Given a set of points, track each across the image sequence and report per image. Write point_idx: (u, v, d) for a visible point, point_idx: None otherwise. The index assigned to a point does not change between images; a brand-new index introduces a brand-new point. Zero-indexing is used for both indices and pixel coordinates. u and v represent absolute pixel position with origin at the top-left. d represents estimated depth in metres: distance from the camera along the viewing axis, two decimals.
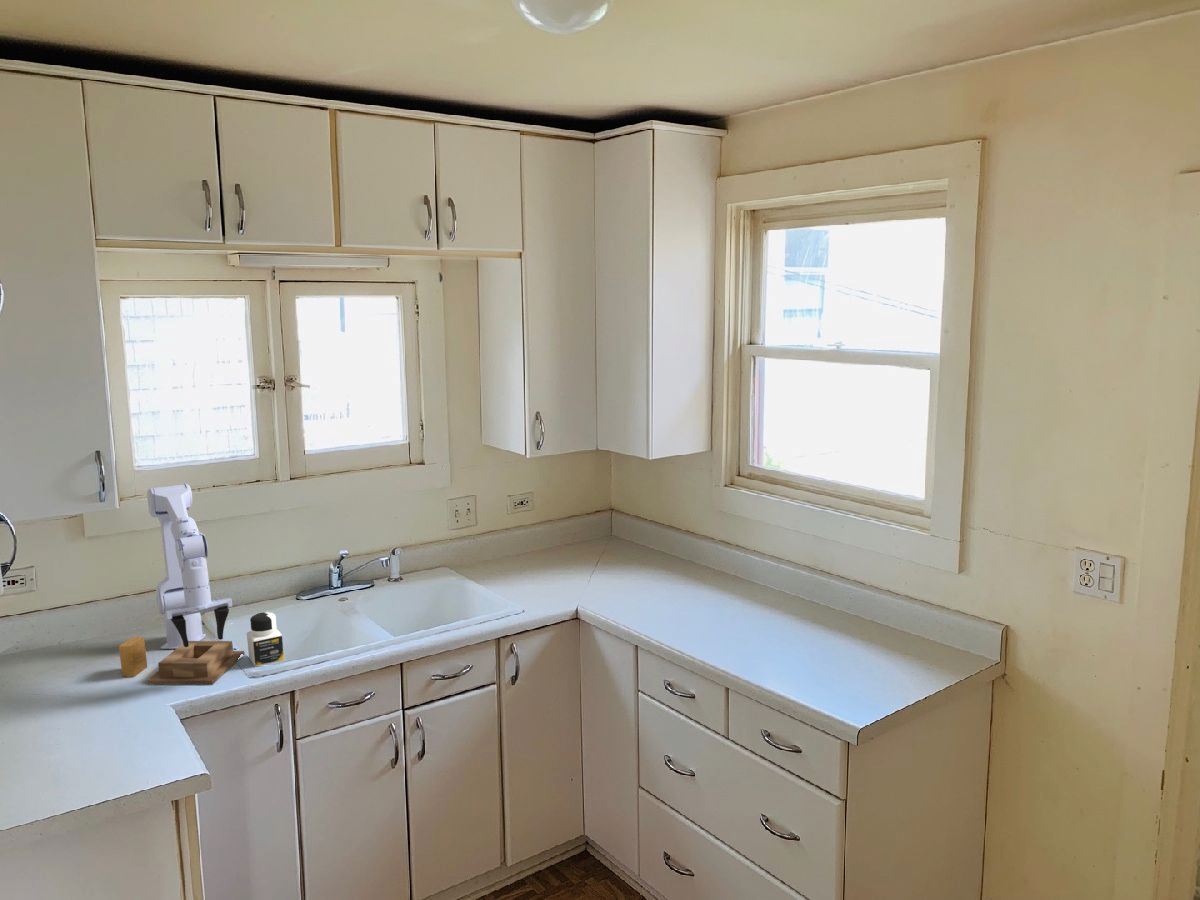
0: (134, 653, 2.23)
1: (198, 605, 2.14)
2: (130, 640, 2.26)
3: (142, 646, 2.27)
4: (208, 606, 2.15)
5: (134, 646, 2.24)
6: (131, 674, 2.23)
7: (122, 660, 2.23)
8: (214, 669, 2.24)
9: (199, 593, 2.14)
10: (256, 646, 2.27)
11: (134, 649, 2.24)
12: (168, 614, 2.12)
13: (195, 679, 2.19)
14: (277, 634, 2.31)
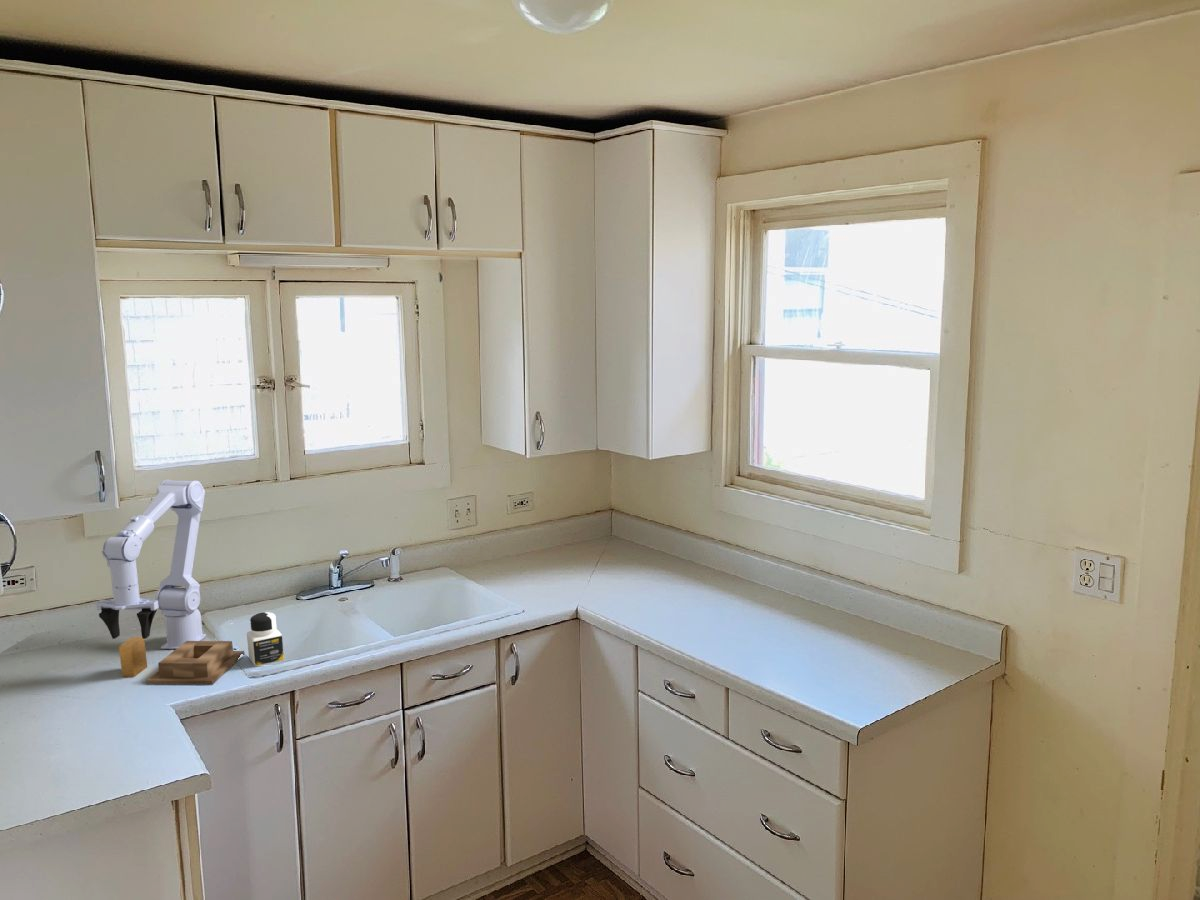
0: (134, 653, 2.23)
1: (118, 604, 2.20)
2: (130, 640, 2.26)
3: (142, 646, 2.27)
4: (127, 607, 2.21)
5: (134, 646, 2.24)
6: (131, 674, 2.23)
7: (122, 660, 2.23)
8: (214, 669, 2.24)
9: (118, 593, 2.20)
10: (256, 646, 2.27)
11: (134, 649, 2.24)
12: (97, 606, 2.23)
13: (195, 679, 2.19)
14: (277, 634, 2.31)
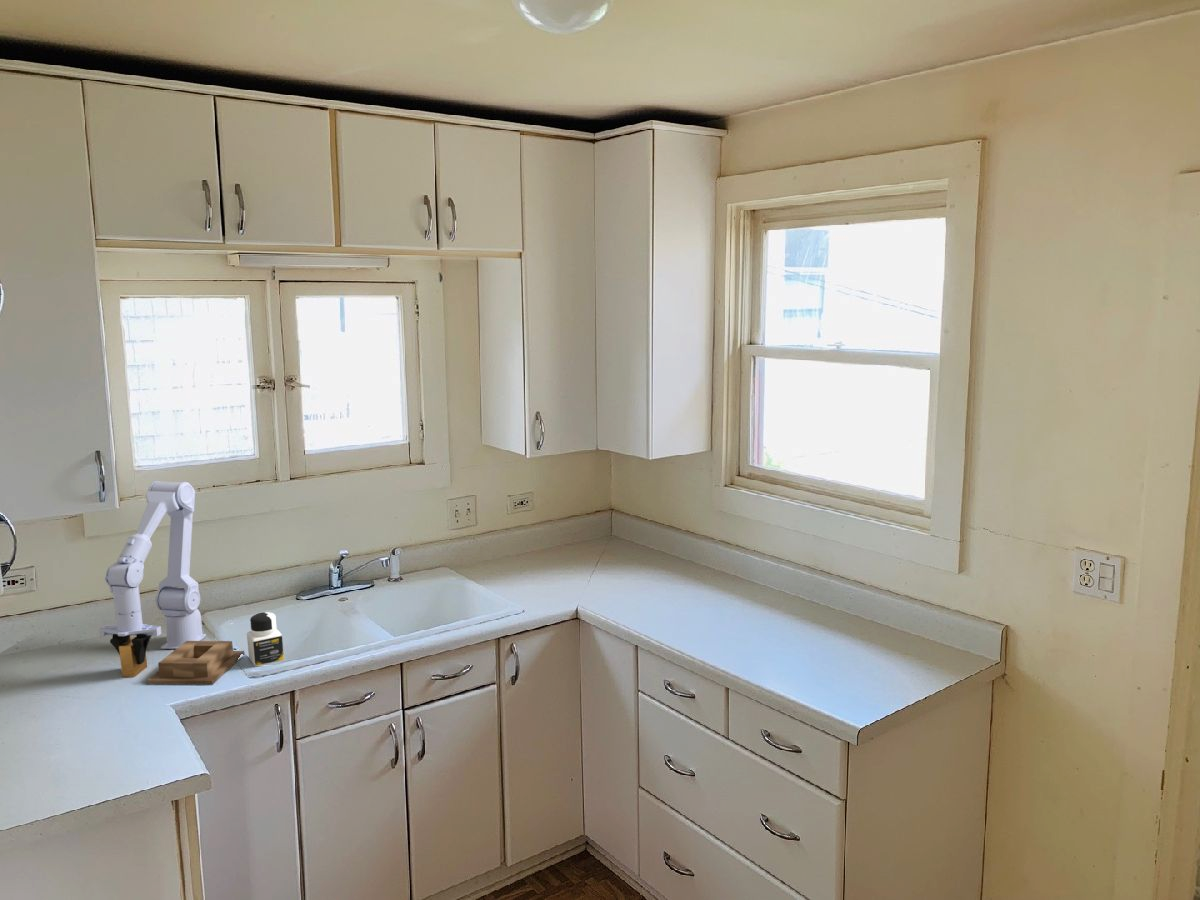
0: (134, 653, 2.23)
1: (121, 630, 2.22)
2: (130, 640, 2.26)
3: None
4: (130, 633, 2.22)
5: None
6: (131, 674, 2.23)
7: (122, 660, 2.23)
8: (214, 669, 2.24)
9: (121, 619, 2.21)
10: (256, 646, 2.27)
11: (134, 649, 2.24)
12: (100, 631, 2.24)
13: (195, 679, 2.19)
14: (277, 634, 2.31)
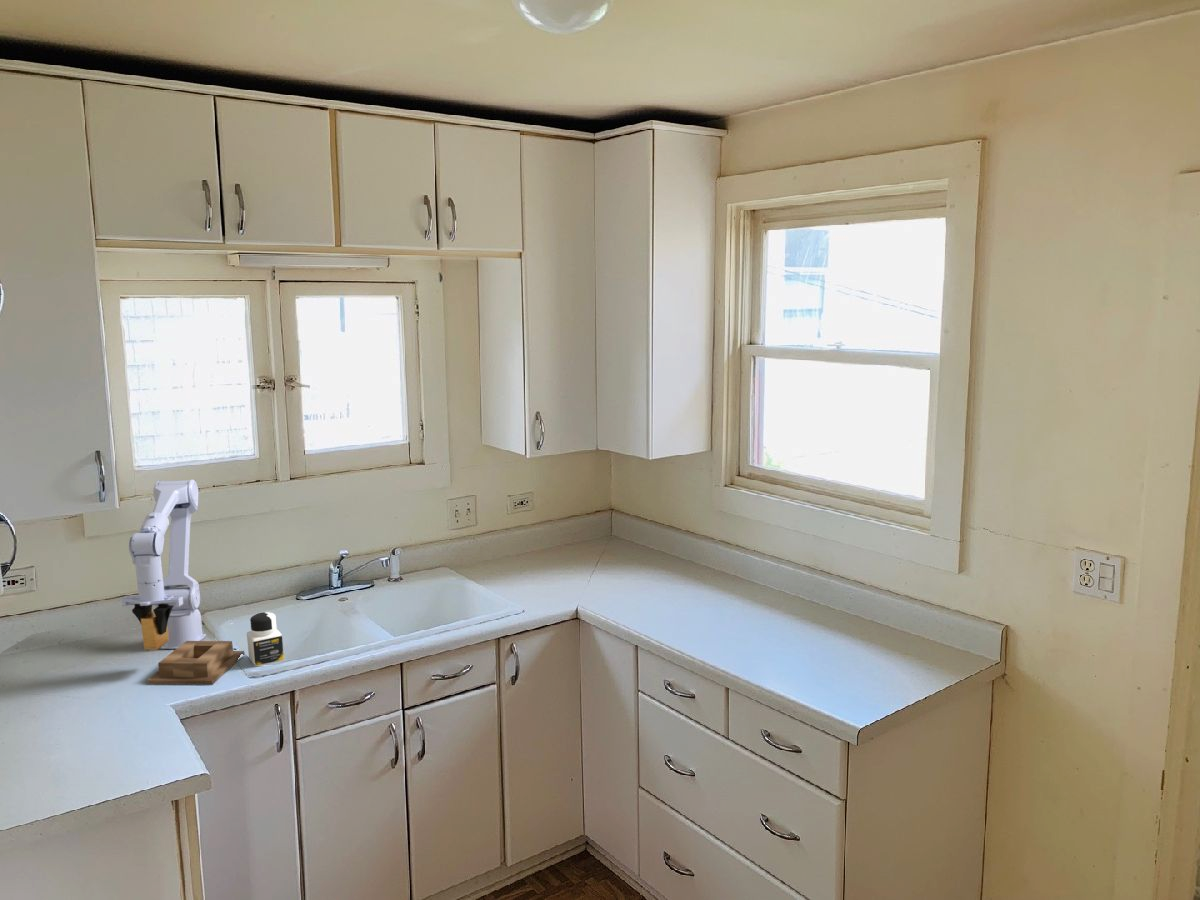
0: (156, 625, 2.23)
1: (143, 600, 2.21)
2: (152, 613, 2.25)
3: None
4: (152, 603, 2.21)
5: (156, 619, 2.23)
6: (153, 646, 2.23)
7: (144, 632, 2.22)
8: (214, 669, 2.24)
9: (143, 589, 2.20)
10: (256, 646, 2.27)
11: (156, 621, 2.23)
12: (122, 601, 2.23)
13: (195, 679, 2.19)
14: (277, 634, 2.31)
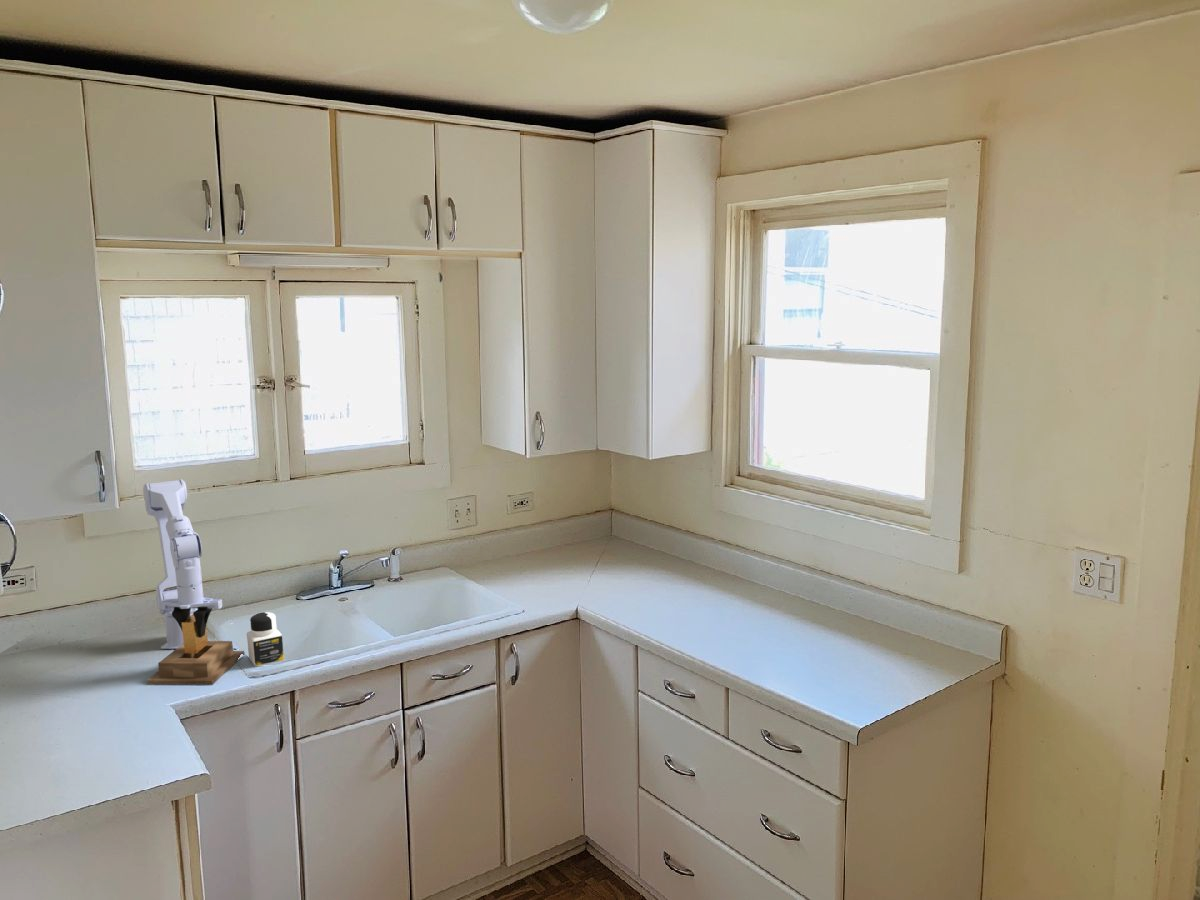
0: (196, 629, 2.24)
1: (183, 603, 2.22)
2: (192, 616, 2.26)
3: None
4: (192, 606, 2.22)
5: None
6: (193, 650, 2.24)
7: (185, 636, 2.23)
8: (214, 669, 2.24)
9: (183, 592, 2.21)
10: (256, 646, 2.27)
11: (196, 625, 2.24)
12: (162, 604, 2.24)
13: (195, 679, 2.19)
14: (277, 634, 2.31)
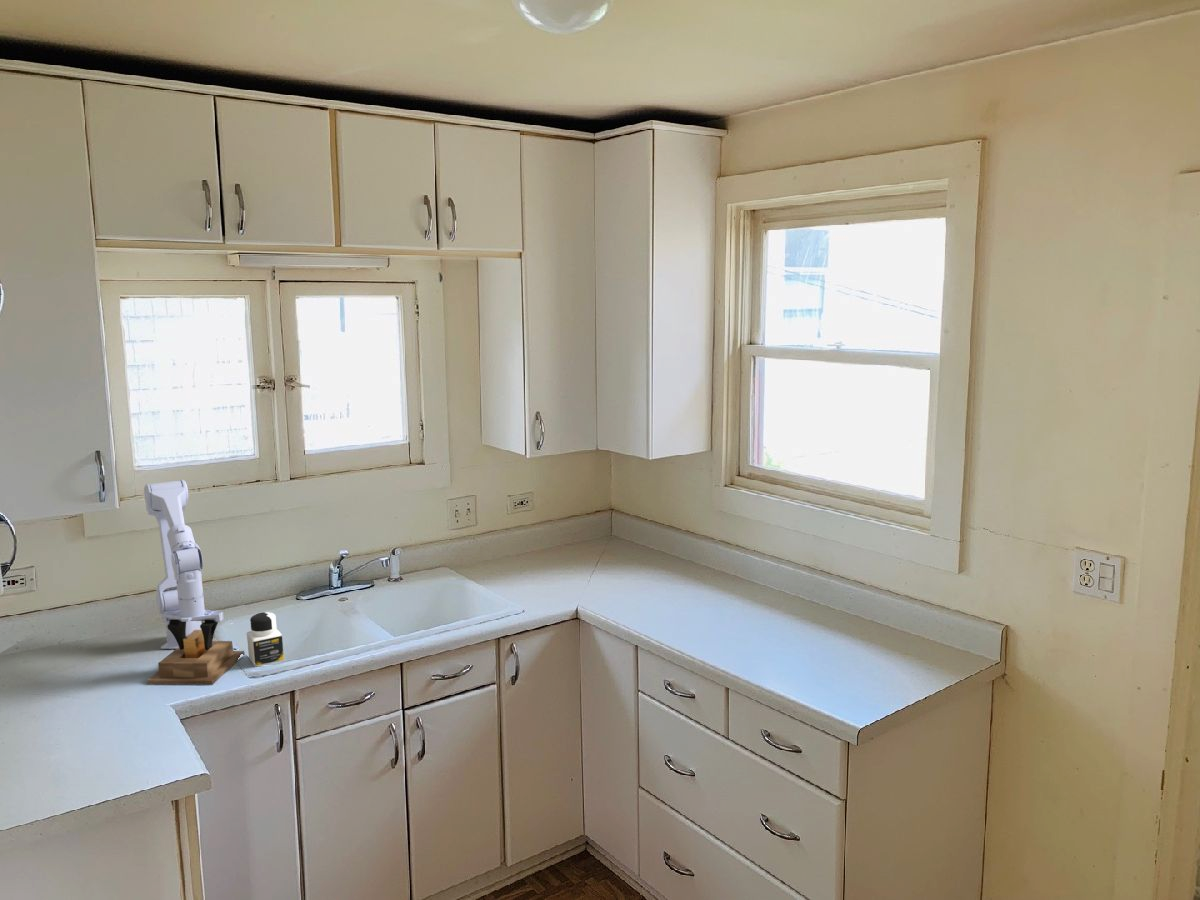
0: (198, 645, 2.25)
1: (184, 616, 2.22)
2: (193, 633, 2.27)
3: None
4: (193, 618, 2.23)
5: (198, 639, 2.25)
6: None
7: (186, 652, 2.24)
8: (214, 669, 2.24)
9: (185, 605, 2.22)
10: (256, 646, 2.27)
11: (198, 642, 2.25)
12: (163, 617, 2.25)
13: (195, 679, 2.19)
14: (277, 634, 2.31)
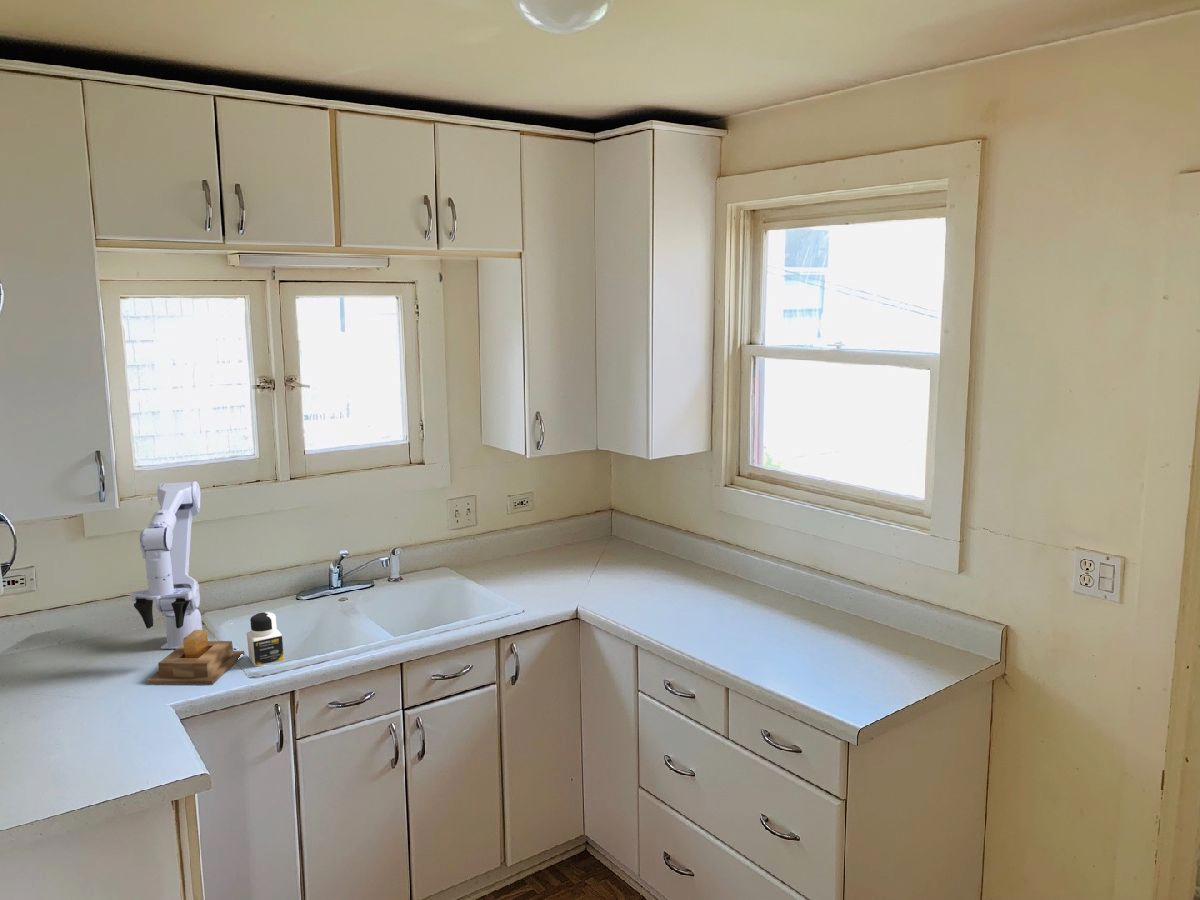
0: (198, 645, 2.25)
1: (153, 594, 2.25)
2: (193, 633, 2.27)
3: (205, 638, 2.28)
4: (162, 597, 2.25)
5: (198, 639, 2.25)
6: None
7: (186, 652, 2.24)
8: (214, 669, 2.24)
9: (154, 583, 2.24)
10: (256, 646, 2.27)
11: (198, 642, 2.25)
12: (132, 596, 2.27)
13: (195, 679, 2.19)
14: (277, 634, 2.31)
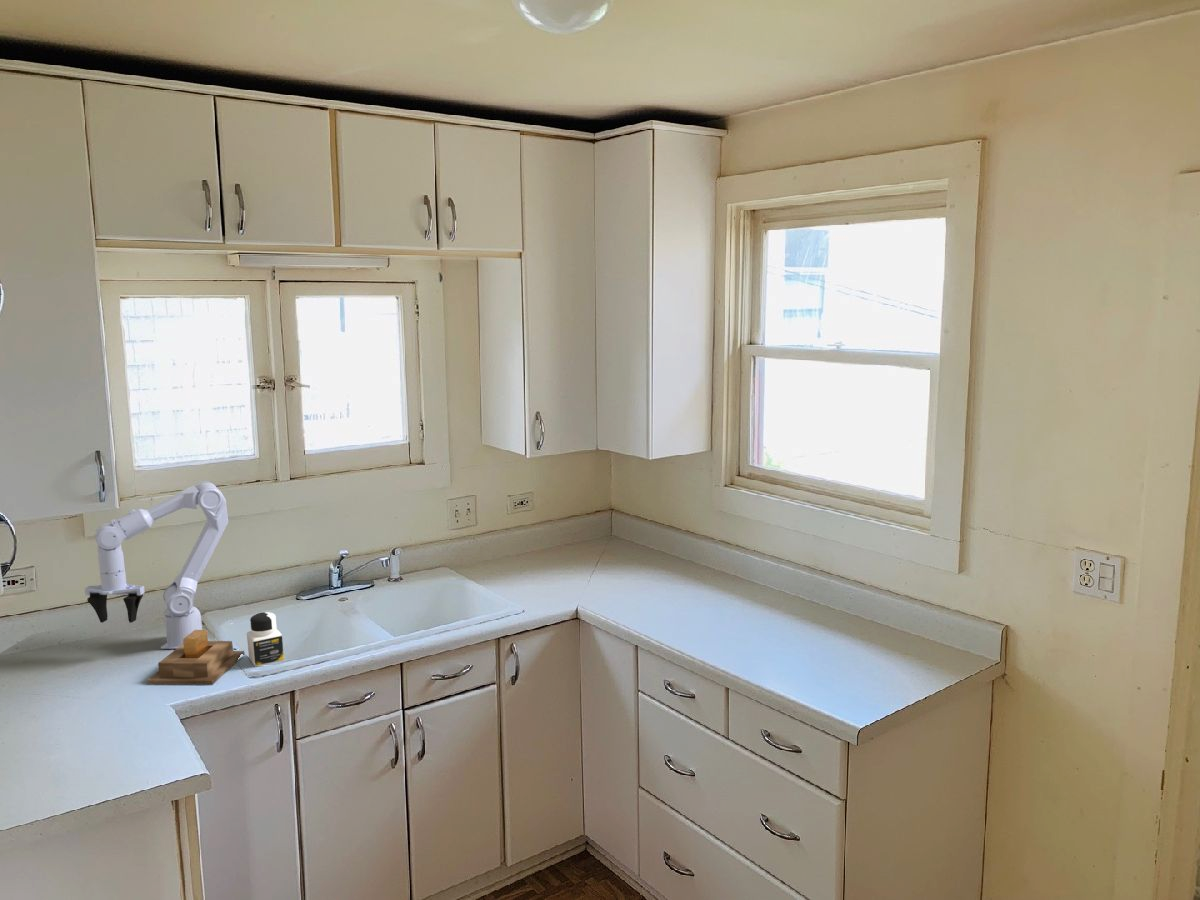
0: (198, 645, 2.25)
1: (105, 589, 2.31)
2: (193, 633, 2.27)
3: (205, 638, 2.28)
4: (114, 592, 2.31)
5: (198, 639, 2.25)
6: None
7: (186, 652, 2.24)
8: (214, 669, 2.24)
9: (106, 579, 2.30)
10: (256, 646, 2.27)
11: (198, 642, 2.25)
12: (86, 591, 2.33)
13: (195, 679, 2.19)
14: (277, 634, 2.31)
